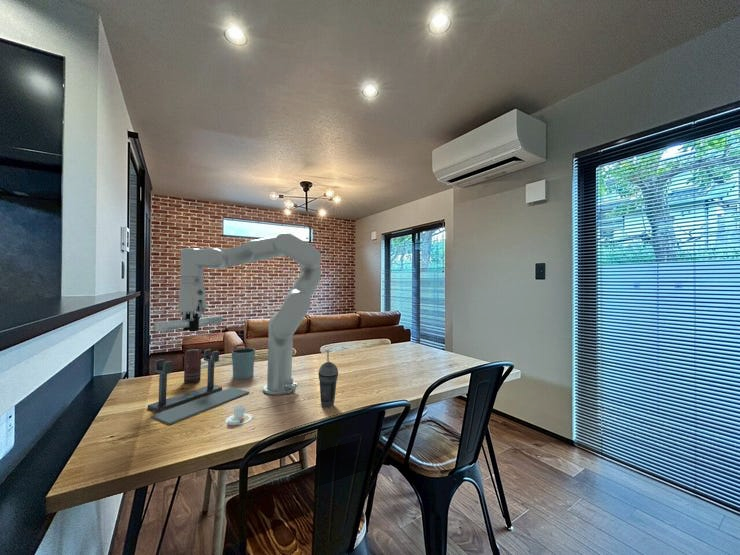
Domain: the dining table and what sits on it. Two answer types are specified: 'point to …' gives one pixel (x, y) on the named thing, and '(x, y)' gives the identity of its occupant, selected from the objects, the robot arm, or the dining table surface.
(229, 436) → the dining table surface
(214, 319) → the steel rail
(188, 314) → the robot arm
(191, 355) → the can
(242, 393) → the rubber mat
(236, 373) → the teal tapered cup
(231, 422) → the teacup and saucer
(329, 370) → the beverage cup
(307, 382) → the dining table surface
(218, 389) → the hook stands
